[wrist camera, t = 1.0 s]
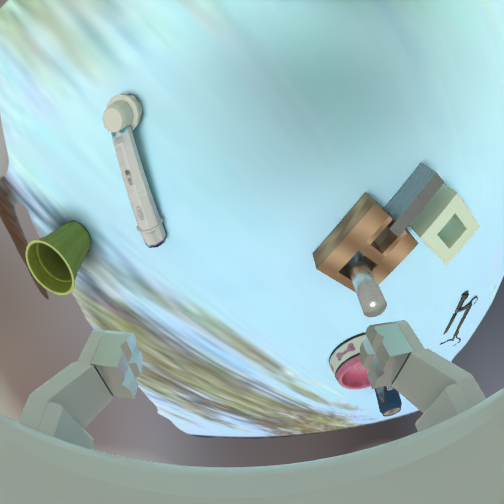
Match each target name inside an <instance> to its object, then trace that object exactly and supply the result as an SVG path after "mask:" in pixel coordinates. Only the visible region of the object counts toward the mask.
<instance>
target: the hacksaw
mask: <svg viewBox="0 0 504 504" xmlns="http://www.w3.org/2000/svg"><path fill="white" fill-rule="evenodd" d="M468 292H469V291H467V292H465V293H463V294H462V297H461V300H460V302H459V304H458V306H457V308H456V310H455V314H454V315H453V317H452V319H451V321H450V323H449V325H448V326H447V328H446V330H445V332H444V334H445V333H446V332H447V331H448V329H449V328H450V326H451V324H452V322H453V320H454V318H455V316H456V314H457V313H458V312H459V311H462V310H465V309H466V308H467V309H466V311H465V313H464V315H463V317H462V319H461V321H460V323H459V325H458V327H457V330H456V332H455V334H454V337H453V339H449V340H447V341H450V340H451V341H454V338H455V336H456V338H457V335H458V333H459V331H458V330H459V328H460V327H461V325H462V323H463V321H464V319H465V317H466V315H467V314H468V311H469V310H470V308H471V306H472V301H473V300H474V299H475V298H477V299H478V297H474V298H473V299H472V300H471V302H470V303H469V304H467V305H466V306H465V307H462V308H461V306H462V304H463V303H464V301H465V300H466V299H467V297H468V295H469V294H468ZM475 303H476V302H475ZM475 303H474V304H475ZM474 304H473V305H474ZM457 332H458V333H457ZM456 334H457V335H456ZM457 339H459V342H460V340H461V339H460V338H457ZM447 341H445V342H447ZM445 342H443V343H441V344H444V343H445ZM459 342H458V343H459ZM458 343H457V344H458ZM441 344H440V345H441ZM454 346H455V345H454Z"/></svg>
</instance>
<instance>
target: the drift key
mask: <svg viewBox="0 0 504 504" xmlns="http://www.w3.org/2000/svg"><path fill="white" fill-rule="evenodd" d="M443 183H444V181H443V180H442V179H441V178H440V176H439V175H438V174H437V173H436V172H435V171H433V170H432V169H430V168H428V167H427V166H425V165H423V164H422V163H420V165H419V166H418V167H417V168H416V170H415V171H414V172H413V173H412V175H411V176H410V177H409V178H408V180H407V181H406V182H405V183H404V185H403V186H402V187H401V188H400V190H399V191H398V192H397V193H396V194H395V196H394V197H393V198H392V199H391V200H390V202H389V203H388V204H387V205H386V206H385V208H384V210H385V211H386V212H387V213H388V214H389V216H390V217H391V218H392V219H393V220H392V221H391V222H390V223H389V224H388V225H387V227H388V228H389V229H390V230H391V231H392V232H393V233H394V234H395V235H397V236H398V237H399V236H400V235H401V234H402V233H403V231H404V230H405V229H406V228H407V227H408V226H409V225H410V223H411V222H412V221H413V220H414V219H415V218H416V216H417V215H418V214H419V213H420V212H421V211H422V209H423V208H424V207H425V206H426V205H427V203H428V202H429V201H430V200H431V198H432V197H433V196H434V195H435V193H436V192H437V191H438V190H439V188H440V187H441V186H442V185H443Z"/></svg>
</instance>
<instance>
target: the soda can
mask: <svg viewBox="0 0 504 504" xmlns="http://www.w3.org/2000/svg"><path fill="white" fill-rule="evenodd" d="M375 392H376V396H377V400H378V404H379V409H380V412H381V413H382V414H383V416H391V415H393V414H396V413H398V412H399V411H400V410H401V404H402V403H401V399H400V396H399V392H398V391H397V390H396V389H395V388H394V387H392V385H388V386H383V387H379V388H375Z"/></svg>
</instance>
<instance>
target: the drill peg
mask: <svg viewBox="0 0 504 504" xmlns="http://www.w3.org/2000/svg"><path fill="white" fill-rule="evenodd" d="M345 265H346V267H347V270H348V273H349V275H350V278H351V280H352V283H353V285H354V288H355V291H356V293H357V296H358V299H359V302H360V304H361V307H362V310H363V313H364V315H365V316H367V317H375V316H378V315H380V314H381V313H382V312H383V311H384V310H385V309H386V306H387V303H386V301H385V299H384V296H383V294H382V292H381V290H380V288H379V286H378V284H377V282H376V279H375V277H374V275H373V273H372V271H371V269H370V267H369V265H368V263H367V261H366V259H365V257H364V255H363V254H362V253H361V252H359V251H358V252H357V253H356V254H355V255H354V256H353V257H352V258H351V259H350V260H349V261H348V262H347V263H346V264H345Z"/></svg>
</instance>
